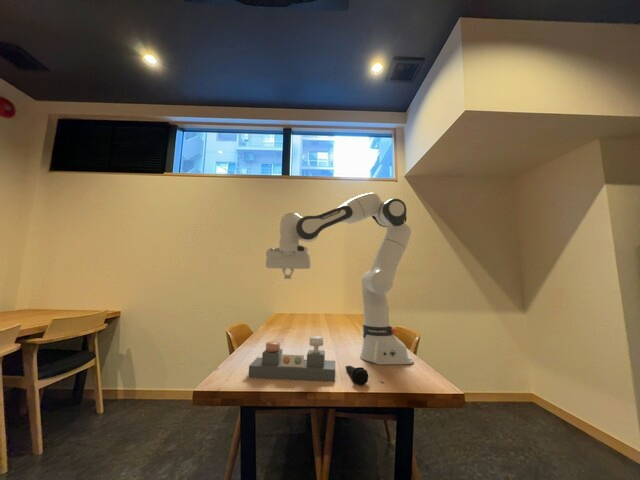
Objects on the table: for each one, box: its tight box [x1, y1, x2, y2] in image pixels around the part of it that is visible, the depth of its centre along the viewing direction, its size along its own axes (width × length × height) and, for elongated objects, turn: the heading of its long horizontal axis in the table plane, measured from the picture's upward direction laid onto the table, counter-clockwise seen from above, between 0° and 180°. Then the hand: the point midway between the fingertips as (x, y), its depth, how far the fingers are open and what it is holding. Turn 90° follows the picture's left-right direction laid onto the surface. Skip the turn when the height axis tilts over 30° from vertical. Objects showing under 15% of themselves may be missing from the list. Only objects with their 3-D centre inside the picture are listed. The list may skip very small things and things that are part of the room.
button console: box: [247, 348, 336, 383], centre depth 100 cm, size 30×10×8 cm, turn 86°
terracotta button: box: [265, 341, 281, 352], centre depth 101 cm, size 5×5×6 cm
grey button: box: [309, 335, 324, 354], centre depth 100 cm, size 5×5×6 cm
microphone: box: [345, 365, 370, 386], centre depth 99 cm, size 6×6×20 cm
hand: (287, 278), depth 124 cm, fingers closed
